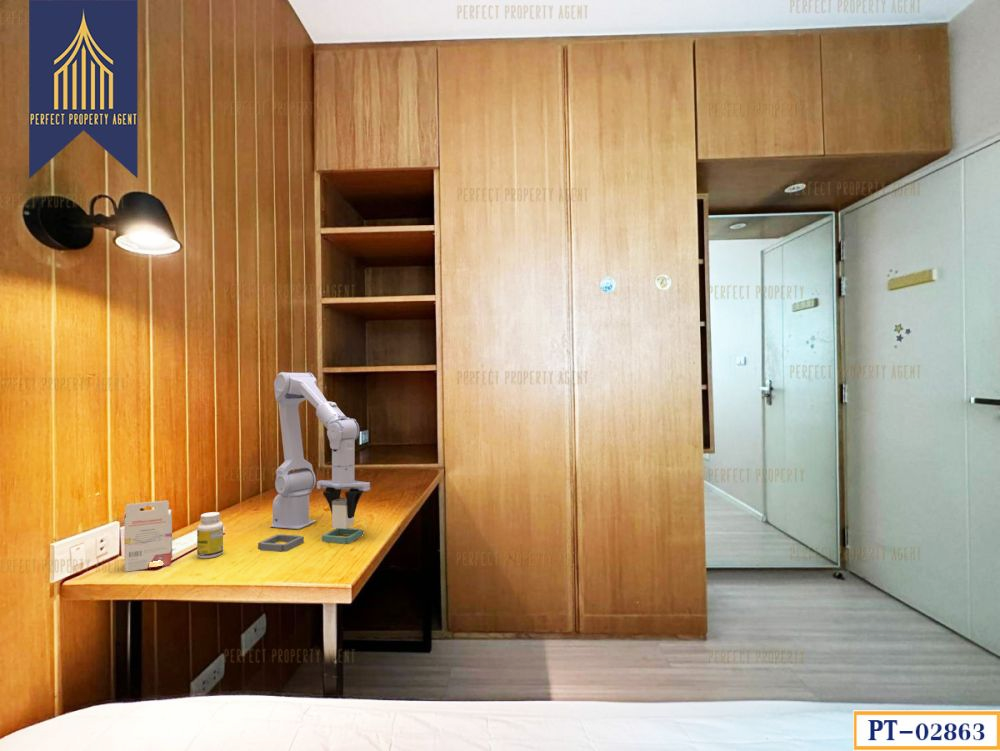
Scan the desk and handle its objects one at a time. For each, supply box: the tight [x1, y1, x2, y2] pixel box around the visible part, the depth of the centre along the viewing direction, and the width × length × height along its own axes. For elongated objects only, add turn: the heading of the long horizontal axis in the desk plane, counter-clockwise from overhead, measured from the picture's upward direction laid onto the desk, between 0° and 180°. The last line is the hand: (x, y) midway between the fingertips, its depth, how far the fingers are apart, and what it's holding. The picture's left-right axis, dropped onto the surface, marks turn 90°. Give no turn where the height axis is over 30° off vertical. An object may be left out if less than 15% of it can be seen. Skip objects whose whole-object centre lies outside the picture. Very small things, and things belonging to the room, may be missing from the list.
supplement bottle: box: [196, 511, 224, 559], centre depth 121 cm, size 5×5×10 cm
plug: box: [331, 496, 355, 529], centre depth 134 cm, size 4×4×7 cm
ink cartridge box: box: [123, 500, 173, 573], centre depth 114 cm, size 9×5×15 cm, turn 118°
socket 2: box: [321, 527, 365, 544], centre depth 134 cm, size 8×8×2 cm
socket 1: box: [257, 533, 305, 552], centre depth 128 cm, size 8×8×2 cm
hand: (343, 516), depth 134 cm, fingers closed on plug, 4 cm apart
